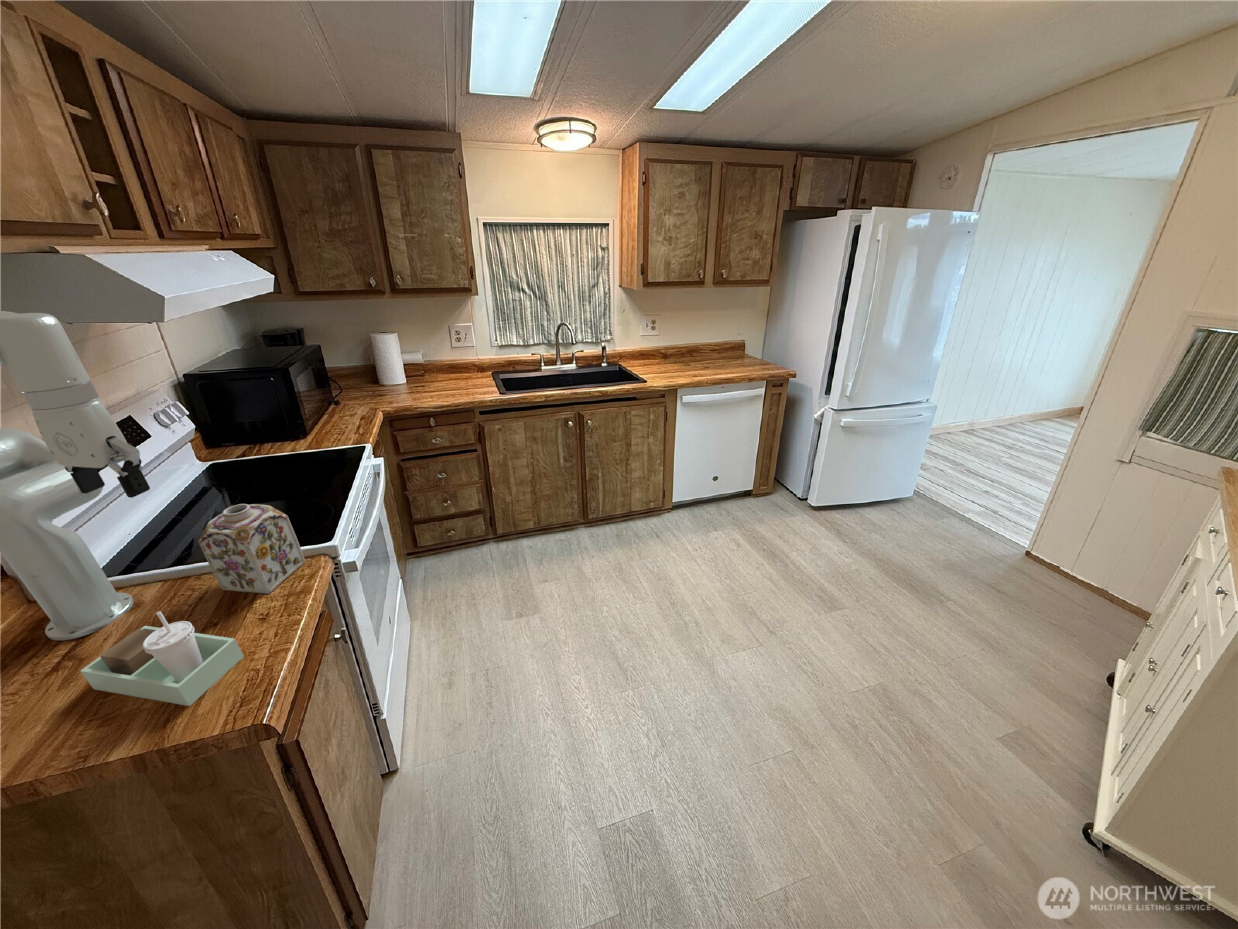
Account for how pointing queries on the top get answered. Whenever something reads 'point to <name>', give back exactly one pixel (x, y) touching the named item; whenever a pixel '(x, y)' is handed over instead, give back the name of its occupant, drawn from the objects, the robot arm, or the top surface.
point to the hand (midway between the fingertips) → (116, 491)
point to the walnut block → (128, 654)
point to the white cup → (174, 648)
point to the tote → (159, 682)
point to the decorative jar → (251, 548)
